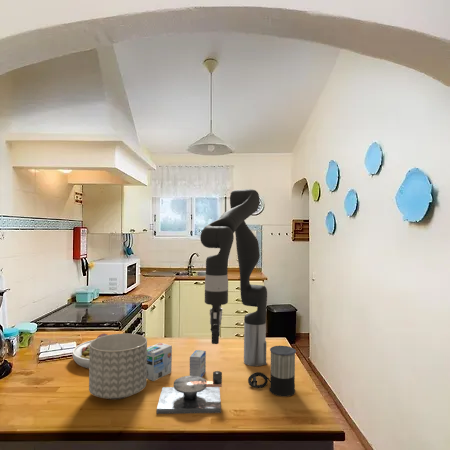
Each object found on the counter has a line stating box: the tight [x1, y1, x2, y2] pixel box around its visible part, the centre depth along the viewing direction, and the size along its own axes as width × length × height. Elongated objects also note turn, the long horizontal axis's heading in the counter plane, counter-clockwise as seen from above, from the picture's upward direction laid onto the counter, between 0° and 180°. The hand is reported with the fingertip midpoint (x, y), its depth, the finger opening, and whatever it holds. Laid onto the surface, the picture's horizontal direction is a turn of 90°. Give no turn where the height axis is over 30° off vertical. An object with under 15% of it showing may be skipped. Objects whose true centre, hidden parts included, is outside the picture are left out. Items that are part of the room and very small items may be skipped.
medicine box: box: [189, 349, 207, 378], centre depth 141 cm, size 8×4×9 cm, turn 168°
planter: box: [88, 332, 148, 401], centre depth 125 cm, size 19×19×18 cm
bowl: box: [72, 333, 108, 369], centre depth 158 cm, size 30×30×8 cm
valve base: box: [156, 386, 222, 415], centre depth 120 cm, size 20×15×5 cm
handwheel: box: [173, 370, 223, 393], centre depth 120 cm, size 16×11×4 cm
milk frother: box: [247, 345, 297, 398], centre depth 131 cm, size 14×16×15 cm
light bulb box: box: [147, 342, 173, 382], centre depth 141 cm, size 11×7×11 cm, turn 148°
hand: (215, 339), depth 116 cm, fingers open, 7 cm apart
